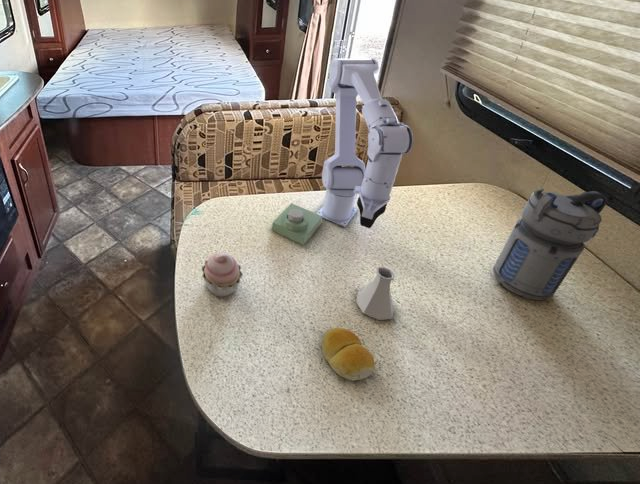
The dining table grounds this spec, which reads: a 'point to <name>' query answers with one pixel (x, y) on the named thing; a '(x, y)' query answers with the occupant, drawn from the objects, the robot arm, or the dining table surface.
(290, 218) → the grey short cylinder
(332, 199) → the robot arm
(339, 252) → the dining table surface
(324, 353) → the bread roll
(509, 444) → the dining table surface
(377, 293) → the flask
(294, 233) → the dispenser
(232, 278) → the cupcake
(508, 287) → the beverage bottle
